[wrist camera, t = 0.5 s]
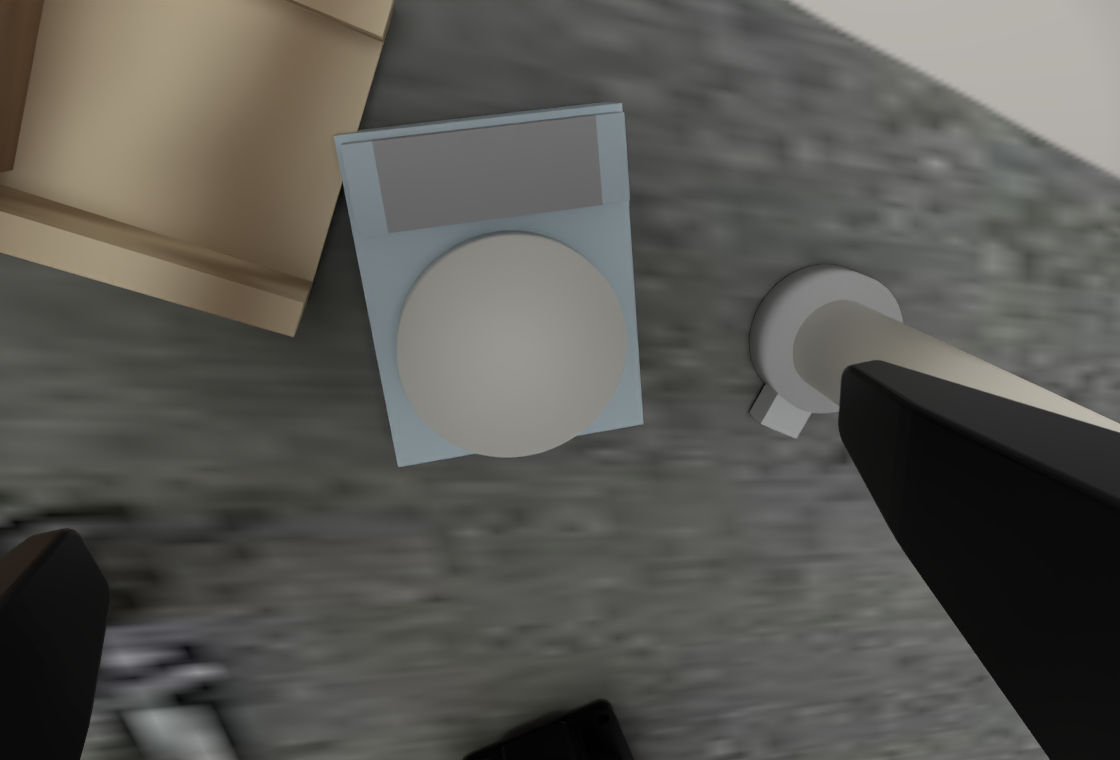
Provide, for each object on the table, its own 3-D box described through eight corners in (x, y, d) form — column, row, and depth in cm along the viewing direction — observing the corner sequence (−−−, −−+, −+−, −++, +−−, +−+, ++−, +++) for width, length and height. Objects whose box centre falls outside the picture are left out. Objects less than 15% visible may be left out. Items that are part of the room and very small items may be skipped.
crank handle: (795, 240, 27) (1073, 347, 16) (903, 297, 29) (1225, 430, 18) (709, 395, 28) (910, 592, 17) (817, 442, 30) (1065, 648, 19)
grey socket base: (626, 401, 28) (652, 436, 25) (397, 440, 27) (398, 482, 24) (604, 101, 24) (632, 103, 21) (338, 131, 23) (330, 138, 20)
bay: (394, 8, 22) (394, -10, 18) (306, 304, 25) (288, 348, 20) (-312, -293, 18) (-531, -411, 13) (-338, 109, 20) (-531, 115, 16)
